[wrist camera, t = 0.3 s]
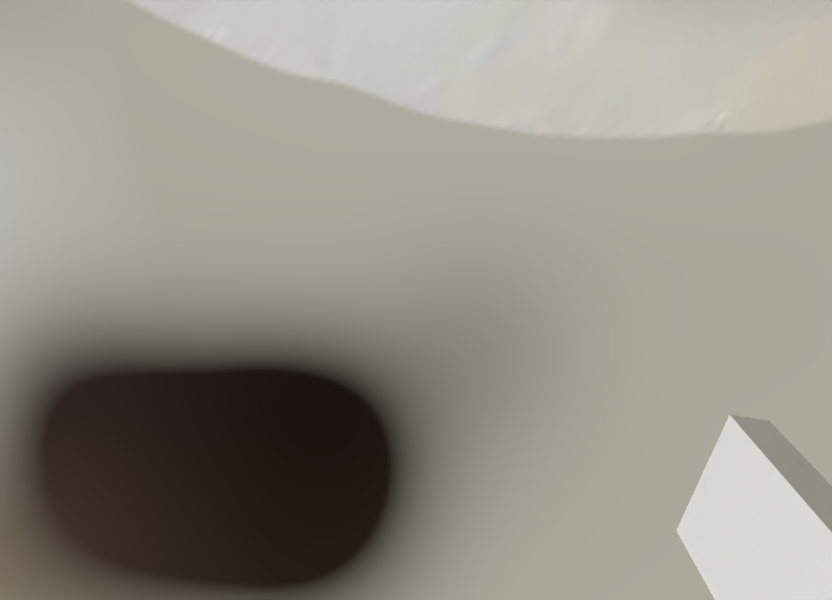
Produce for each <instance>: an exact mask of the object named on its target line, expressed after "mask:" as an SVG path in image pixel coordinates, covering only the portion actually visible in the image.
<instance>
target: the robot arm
mask: <svg viewBox="0 0 832 600" xmlns="http://www.w3.org/2000/svg"><path fill="white" fill-rule="evenodd" d="M677 532H678V534H679V536H680V538H681V540H682V541H683V543H684V545H685V547H686V549H687V550H688V552H689V554H690V556H691V558H692V559H693V561H694V563H695V564H696V567H697V568H698V570H699V572H700V574H701V576H702V577H703V579H704V581H705V583H706V584H707V586H708V588H709V590H710V592H711V593H712V595H713V597H714V599H715V600H832V486H831V485H830V484H829V483H828V482H827V481H826V480H825V479H824V478H823V477H822V475H821V474H820V473H819V472H818V471H817V470H816V469H815V468H814V467H813V466H812V465H811V464H810V463H809V462H808V461H807V460H806V459H805V458H804V457H803V456H802V455H801V454H800V453H799V451H798V450H797V449H796V448H795V447H794V446H793V445H792V444H791V443H790V442H789V441H788V440H787V439H786V438H785V437H784V436H783V435H782V434H781V433H780V432H779V430H778V429H777V428H776V427H774V425H773V424H772V423H771V422H770V421H767V420H761V419H754V418H747V417H740V416H733V415H730V416H729V418H728V420H727V422H726V424H725V426H724V429H723V431H722V433H721V435H720V437H719V440H718V442H717V444H716V446H715V448H714V450H713V453H712V455H711V457H710V459H709V461H708V463H707V466H706V468H705V470H704V472H703V474H702V476H701V479H700V481H699V483H698V485H697V487H696V489H695V492H694V494H693V496H692V498H691V500H690V502H689V505H688V507H687V509H686V511H685V513H684V516H683V518H682V520H681V522H680V524H679V526H678V529H677Z"/></svg>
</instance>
